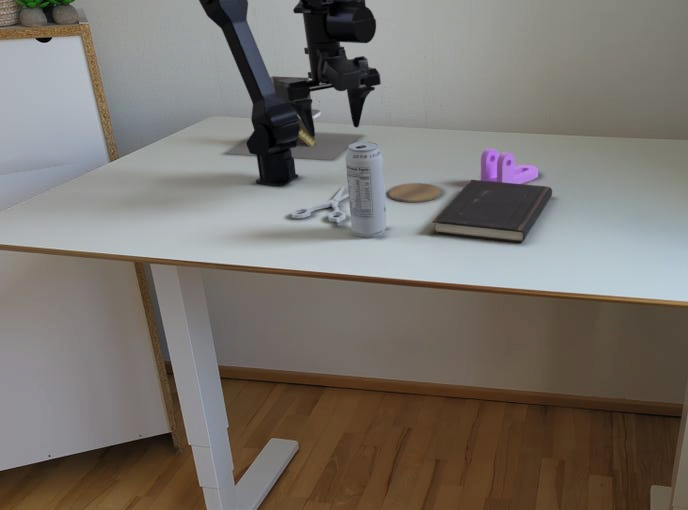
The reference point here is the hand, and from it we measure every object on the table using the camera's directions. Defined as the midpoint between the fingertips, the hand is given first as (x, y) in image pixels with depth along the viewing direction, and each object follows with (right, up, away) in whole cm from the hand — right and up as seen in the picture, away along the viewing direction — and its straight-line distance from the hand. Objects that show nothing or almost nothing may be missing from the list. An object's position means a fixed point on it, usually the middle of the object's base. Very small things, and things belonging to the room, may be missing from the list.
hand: (334, 131), depth 146 cm
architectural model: (-15, +8, +38) cm, 41 cm away
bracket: (+34, -6, +15) cm, 37 cm away
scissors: (0, -13, +3) cm, 13 cm away
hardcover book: (+29, -16, -2) cm, 34 cm away
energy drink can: (+7, -20, -9) cm, 23 cm away
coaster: (+14, -10, +8) cm, 19 cm away
